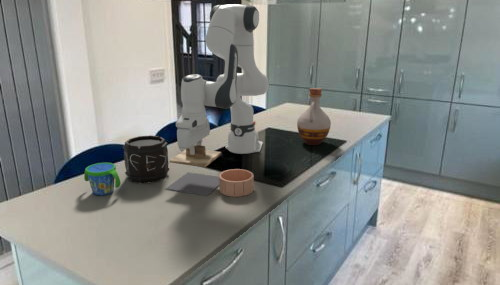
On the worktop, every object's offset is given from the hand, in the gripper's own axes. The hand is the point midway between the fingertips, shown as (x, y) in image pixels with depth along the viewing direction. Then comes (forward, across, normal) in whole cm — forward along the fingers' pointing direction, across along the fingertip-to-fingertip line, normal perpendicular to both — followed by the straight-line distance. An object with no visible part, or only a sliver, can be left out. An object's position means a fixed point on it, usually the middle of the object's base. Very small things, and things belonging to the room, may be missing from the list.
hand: (195, 152), depth 146 cm
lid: (+2, 0, 0) cm, 2 cm away
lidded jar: (+14, -33, -22) cm, 42 cm away
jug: (+15, -69, +34) cm, 79 cm away
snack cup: (+13, +20, -30) cm, 38 cm away
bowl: (+13, +1, +17) cm, 22 cm away
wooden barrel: (+14, +1, -23) cm, 26 cm away
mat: (+13, +1, 0) cm, 13 cm away
